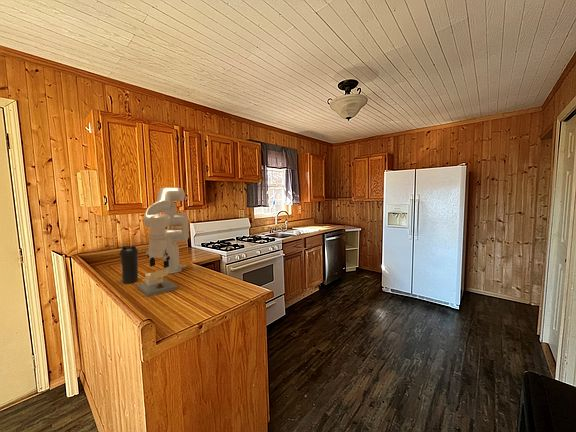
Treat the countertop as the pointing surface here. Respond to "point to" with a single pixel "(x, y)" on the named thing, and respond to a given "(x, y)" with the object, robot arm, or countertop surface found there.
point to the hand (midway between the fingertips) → (159, 266)
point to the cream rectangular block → (151, 280)
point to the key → (158, 276)
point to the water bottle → (129, 264)
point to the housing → (157, 288)
